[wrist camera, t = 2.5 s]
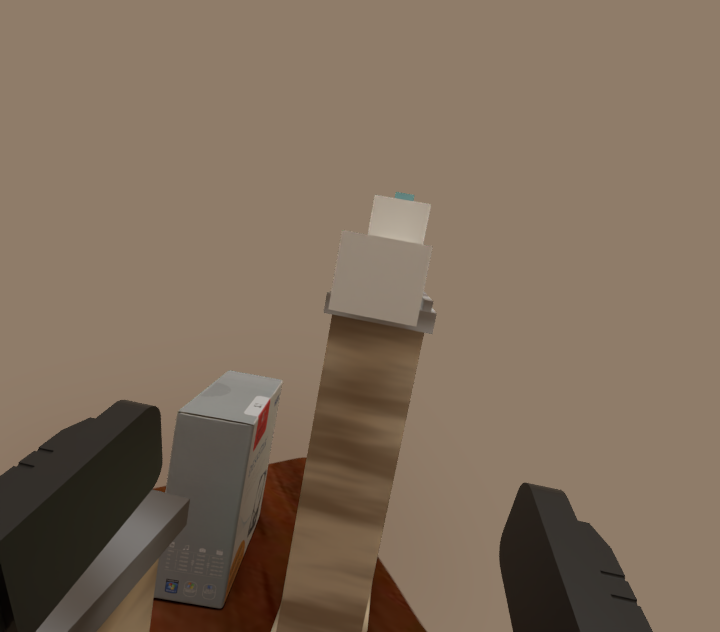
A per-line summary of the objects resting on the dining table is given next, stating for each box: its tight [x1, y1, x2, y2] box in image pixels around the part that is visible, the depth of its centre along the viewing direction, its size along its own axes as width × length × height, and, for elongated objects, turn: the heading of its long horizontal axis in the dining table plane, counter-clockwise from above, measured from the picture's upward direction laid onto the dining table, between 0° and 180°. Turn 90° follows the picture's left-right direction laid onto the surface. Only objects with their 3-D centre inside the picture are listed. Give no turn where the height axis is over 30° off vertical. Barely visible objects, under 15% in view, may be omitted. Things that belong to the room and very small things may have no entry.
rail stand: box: [271, 291, 436, 632], centre depth 38 cm, size 13×9×35 cm
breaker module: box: [328, 192, 433, 326], centre depth 30 cm, size 21×4×9 cm, turn 173°
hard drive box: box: [154, 370, 283, 608], centre depth 47 cm, size 16×8×20 cm, turn 179°
